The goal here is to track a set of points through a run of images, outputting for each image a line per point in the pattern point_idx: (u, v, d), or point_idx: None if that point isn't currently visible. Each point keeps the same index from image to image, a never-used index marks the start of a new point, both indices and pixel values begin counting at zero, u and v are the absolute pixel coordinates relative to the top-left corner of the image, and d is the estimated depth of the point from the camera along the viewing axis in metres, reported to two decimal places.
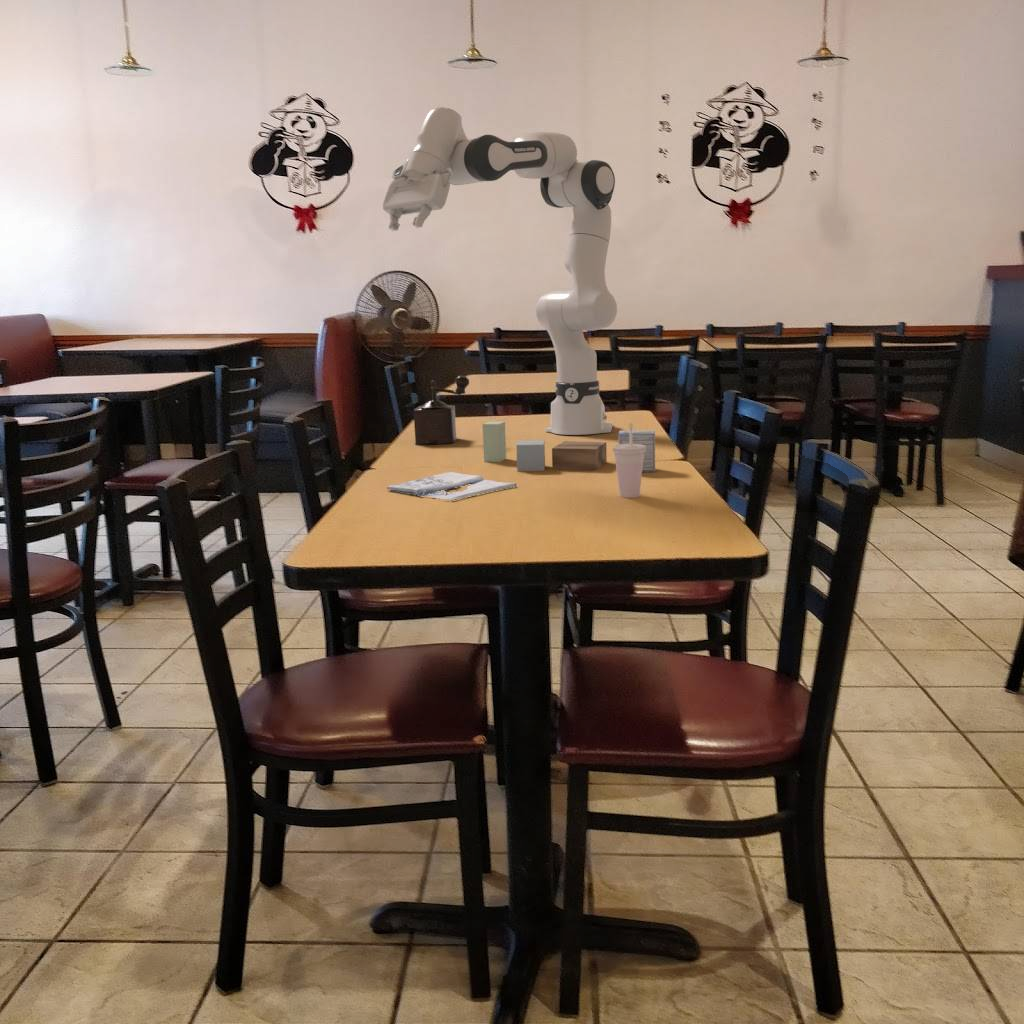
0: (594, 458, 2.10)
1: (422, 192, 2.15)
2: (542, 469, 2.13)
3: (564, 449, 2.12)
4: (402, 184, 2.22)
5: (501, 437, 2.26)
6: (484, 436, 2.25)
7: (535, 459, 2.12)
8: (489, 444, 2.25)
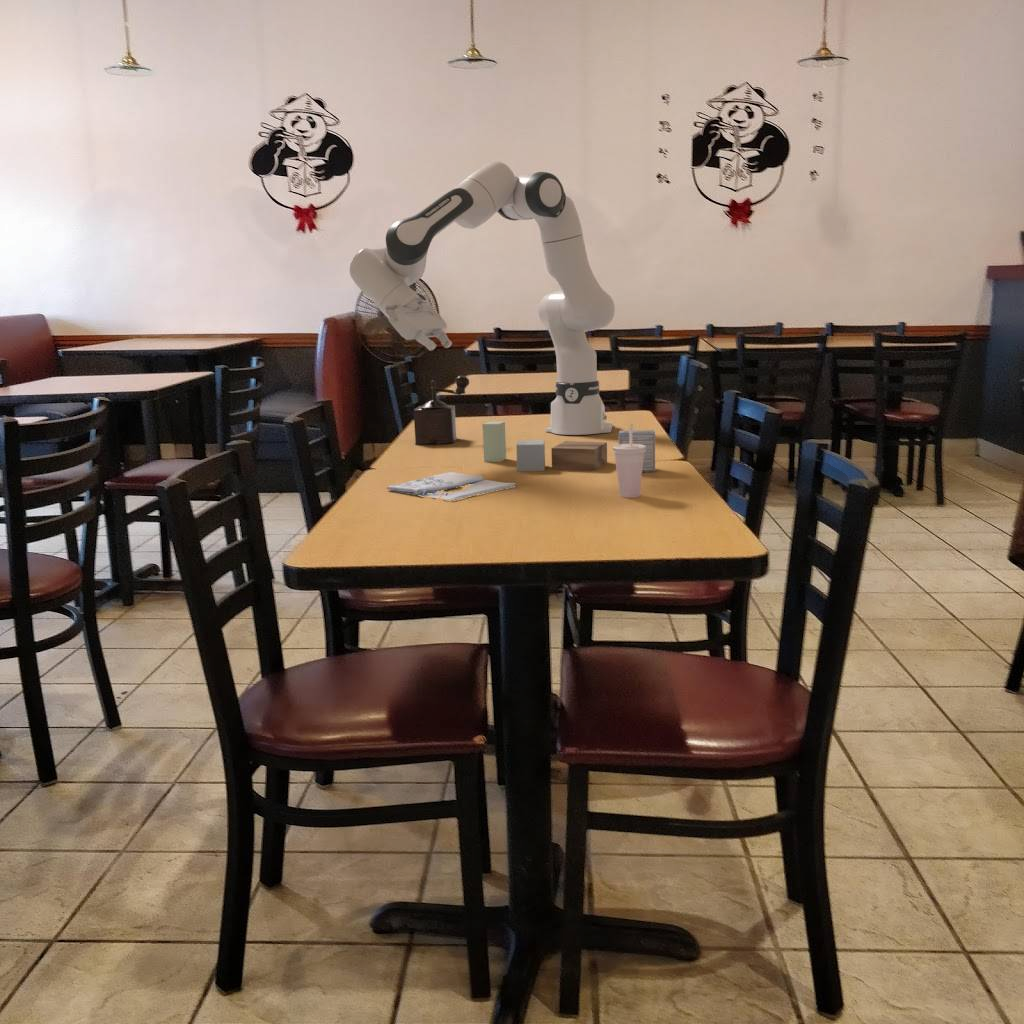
0: (593, 458, 2.10)
1: None
2: (542, 469, 2.13)
3: (563, 449, 2.12)
4: None
5: (501, 437, 2.26)
6: (484, 436, 2.25)
7: (535, 459, 2.12)
8: (489, 444, 2.25)
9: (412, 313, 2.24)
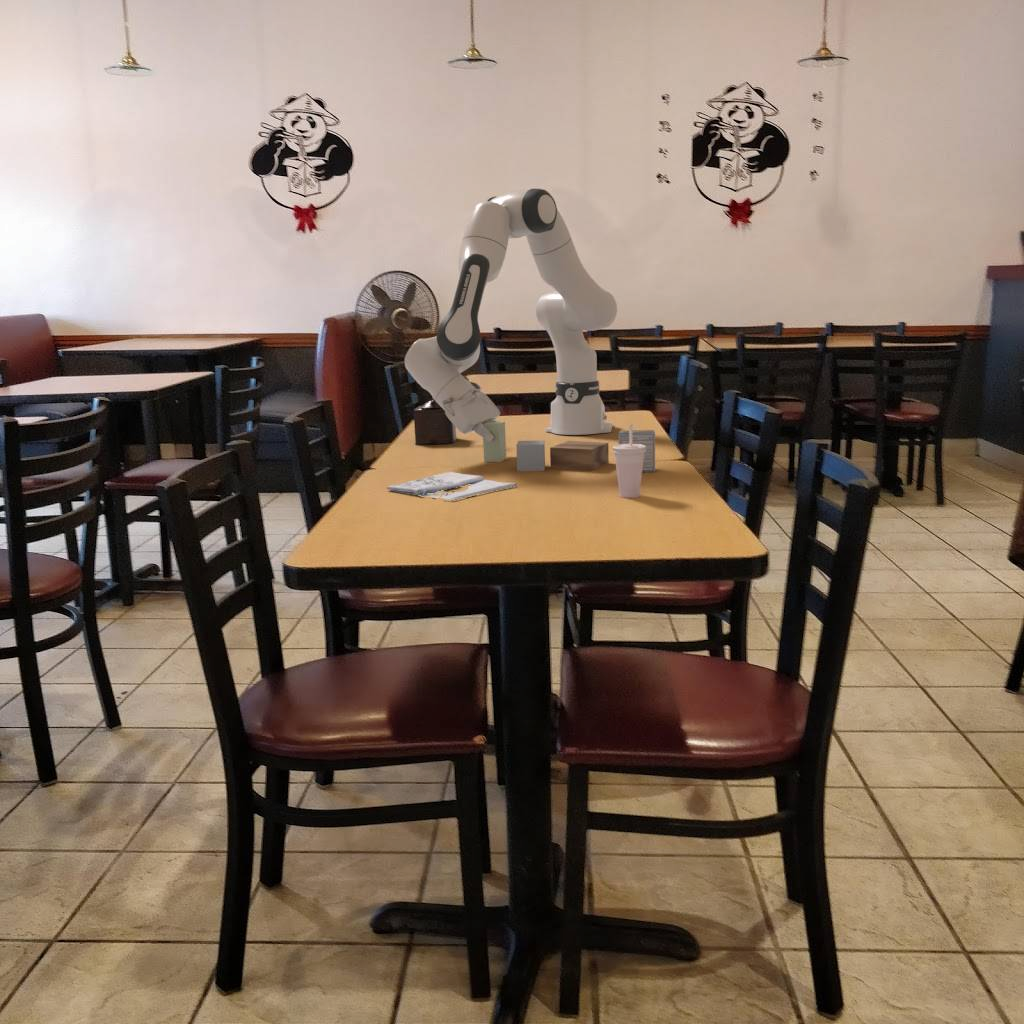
0: (590, 459, 2.10)
1: None
2: (542, 469, 2.13)
3: (561, 449, 2.13)
4: None
5: (501, 437, 2.26)
6: None
7: (535, 459, 2.12)
8: (489, 444, 2.25)
9: (468, 405, 2.24)
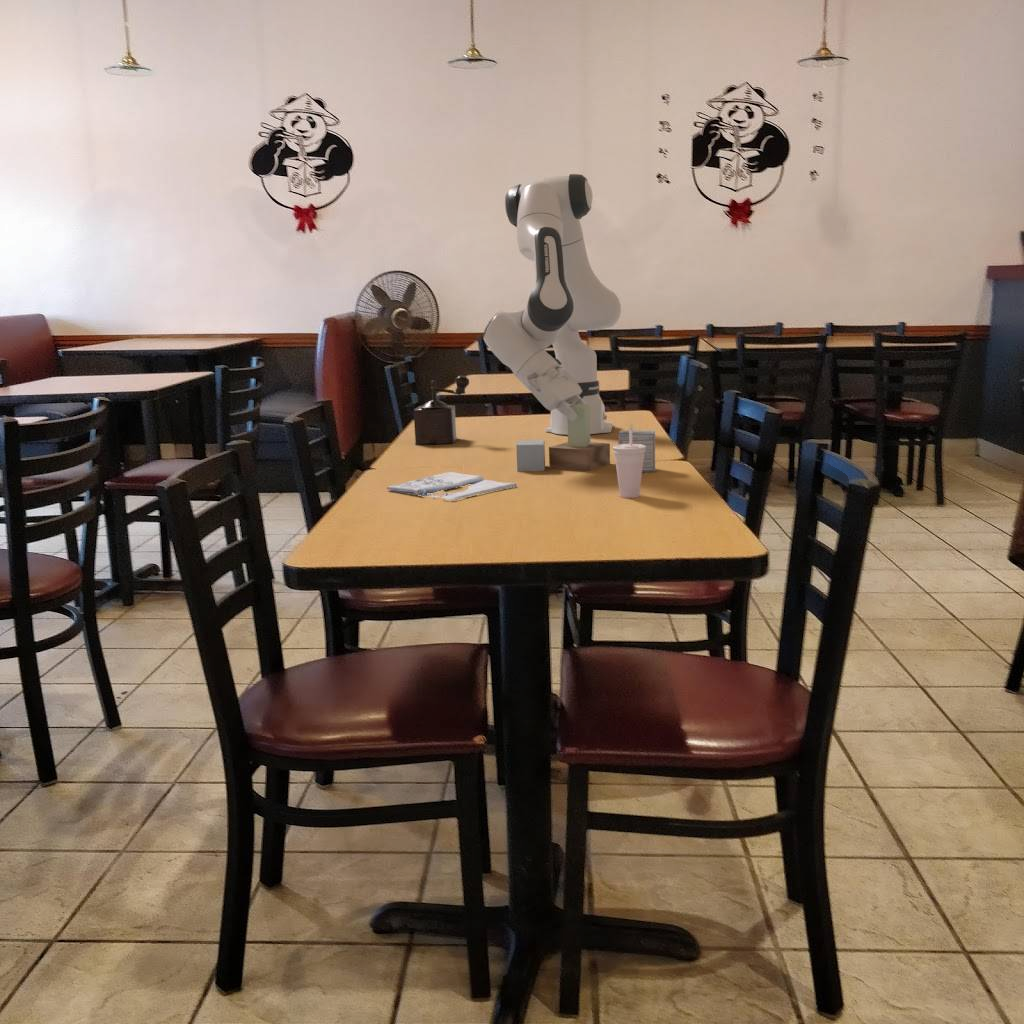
0: (585, 459, 2.10)
1: None
2: (542, 469, 2.13)
3: (559, 449, 2.13)
4: None
5: (587, 420, 2.14)
6: (569, 419, 2.13)
7: (535, 459, 2.12)
8: (574, 428, 2.13)
9: (552, 381, 2.12)
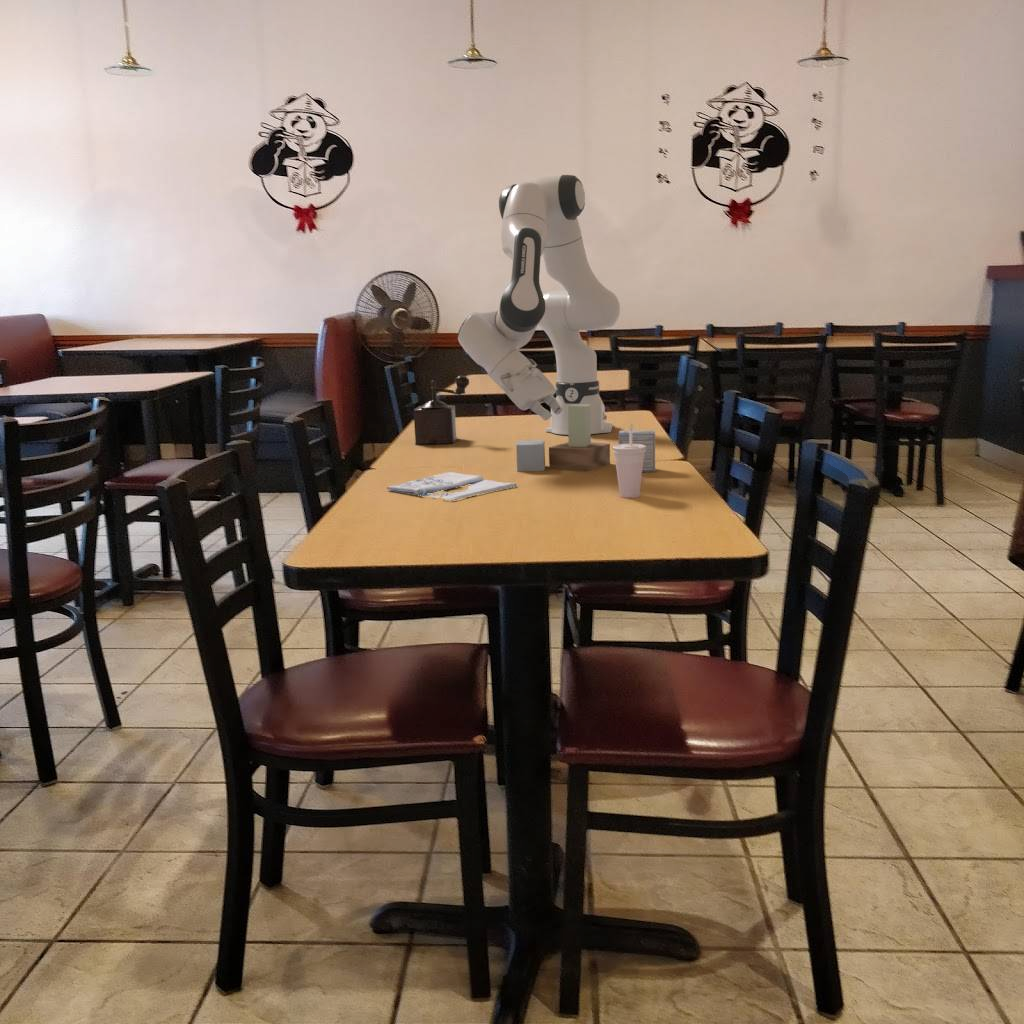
0: (585, 459, 2.10)
1: None
2: (542, 469, 2.13)
3: (559, 449, 2.13)
4: None
5: (587, 420, 2.14)
6: (569, 419, 2.13)
7: (535, 459, 2.12)
8: (575, 428, 2.13)
9: (525, 381, 2.14)
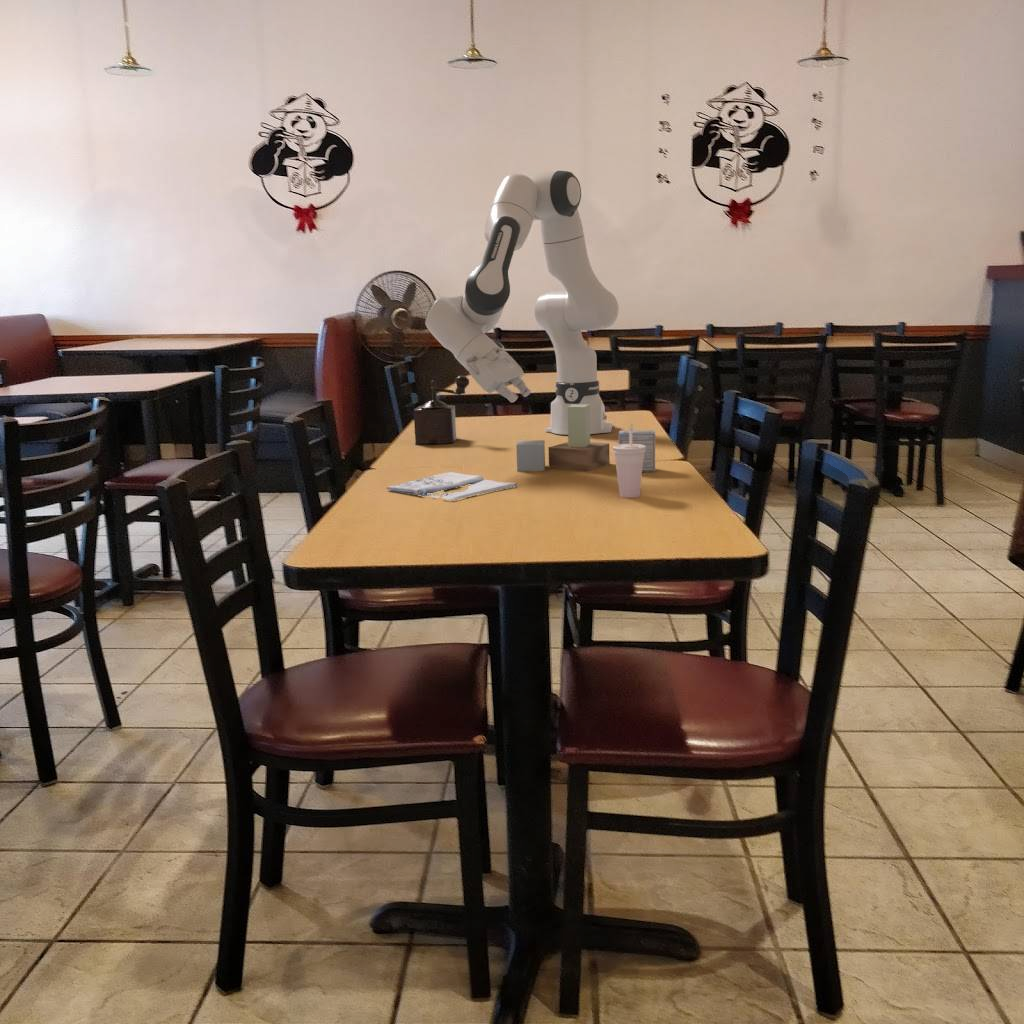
0: (585, 459, 2.10)
1: None
2: (542, 469, 2.13)
3: (559, 449, 2.13)
4: None
5: (587, 420, 2.14)
6: (569, 420, 2.13)
7: (535, 459, 2.12)
8: (574, 428, 2.13)
9: (492, 364, 2.17)
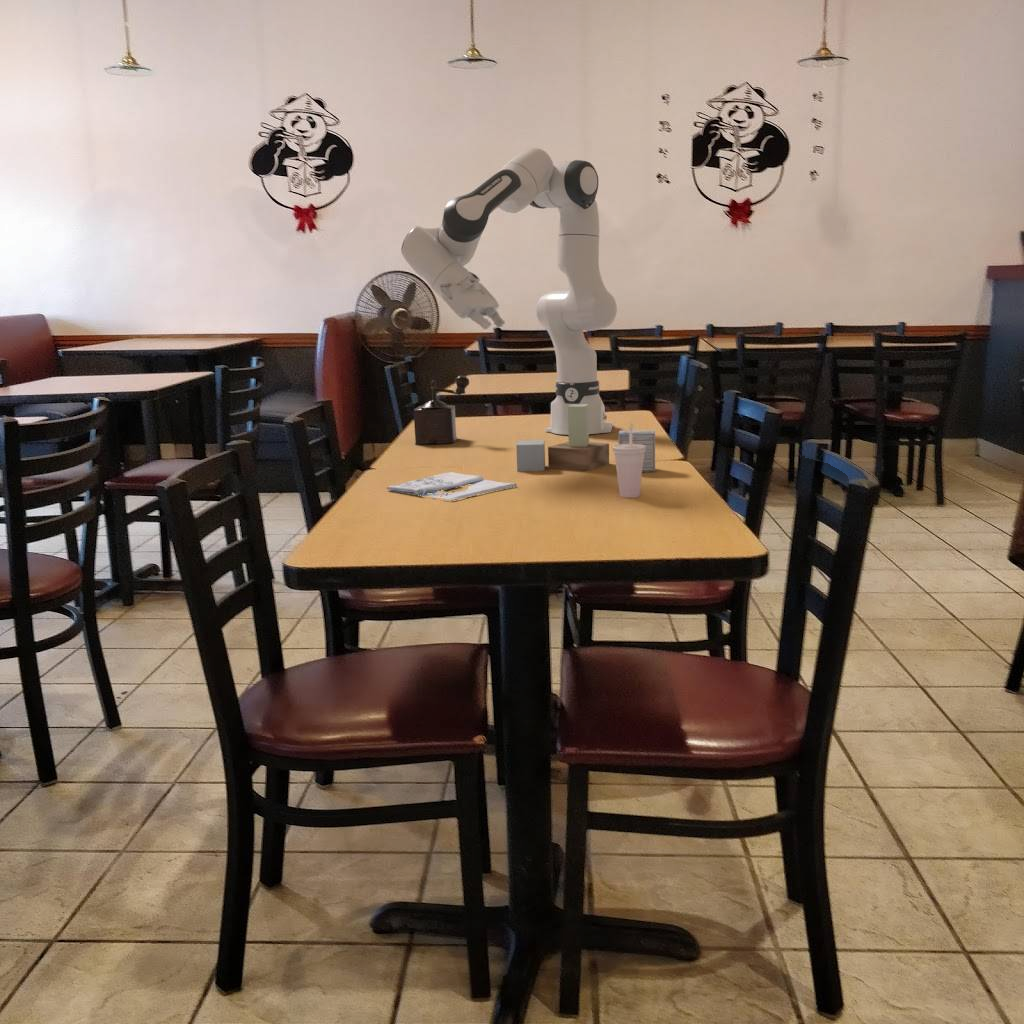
0: (584, 459, 2.10)
1: None
2: (542, 469, 2.13)
3: (558, 449, 2.14)
4: None
5: (587, 420, 2.14)
6: (569, 419, 2.13)
7: (535, 459, 2.12)
8: (575, 428, 2.13)
9: (466, 291, 2.20)
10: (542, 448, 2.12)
